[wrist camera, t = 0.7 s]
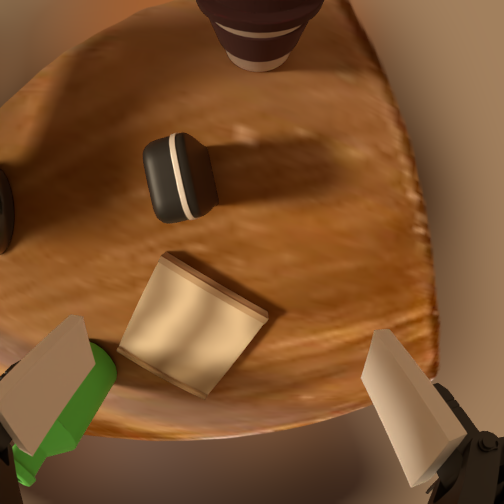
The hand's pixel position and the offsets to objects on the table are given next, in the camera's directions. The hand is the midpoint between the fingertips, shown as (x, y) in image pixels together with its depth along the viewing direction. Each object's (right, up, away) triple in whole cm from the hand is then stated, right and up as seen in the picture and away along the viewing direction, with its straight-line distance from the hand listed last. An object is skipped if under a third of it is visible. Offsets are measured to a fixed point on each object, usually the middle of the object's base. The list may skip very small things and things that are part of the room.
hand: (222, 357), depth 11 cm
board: (-7, -6, +23) cm, 25 cm away
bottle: (-23, -13, +25) cm, 37 cm away
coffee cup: (+2, +28, +15) cm, 31 cm away
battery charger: (-5, +12, +19) cm, 23 cm away
